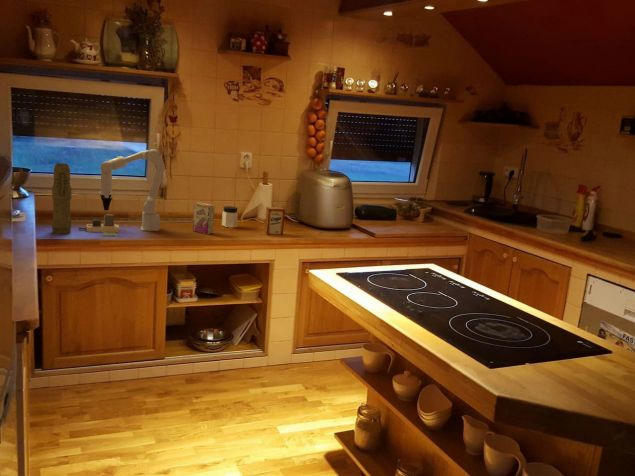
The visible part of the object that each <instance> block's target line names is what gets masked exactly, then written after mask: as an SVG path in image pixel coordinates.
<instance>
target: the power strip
mask: <svg viewBox="0 0 635 476" xmlns="http://www.w3.org/2000/svg"><path fill="white" fill-rule="evenodd" d="M92 224H93V223H87V224H86V227H85V226H84V227H83V226H78V230H86V233H102V232H108V233H120V227H119V226H120V225H119V224H116V223H114V226H104V223H101V226H93V225H92Z"/></svg>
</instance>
